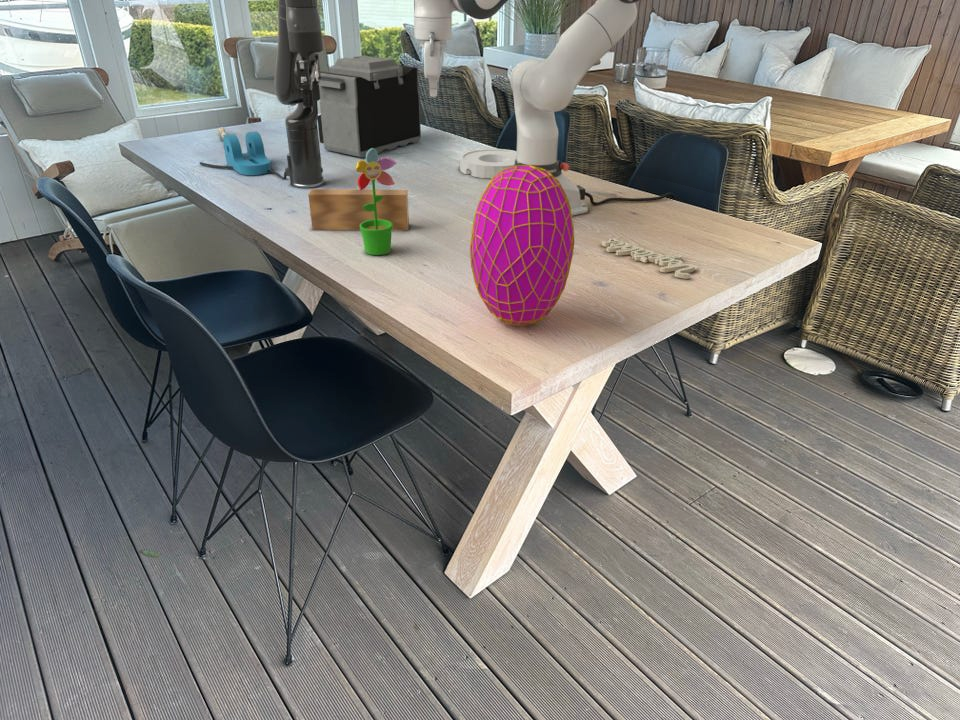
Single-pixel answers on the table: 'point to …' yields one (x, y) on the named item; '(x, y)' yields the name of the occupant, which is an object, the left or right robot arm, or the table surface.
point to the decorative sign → (651, 257)
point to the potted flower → (377, 229)
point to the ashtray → (486, 162)
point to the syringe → (222, 133)
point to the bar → (356, 208)
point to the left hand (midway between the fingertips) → (312, 103)
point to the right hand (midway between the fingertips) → (434, 92)
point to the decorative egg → (522, 244)
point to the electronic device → (368, 106)
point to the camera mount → (246, 154)
